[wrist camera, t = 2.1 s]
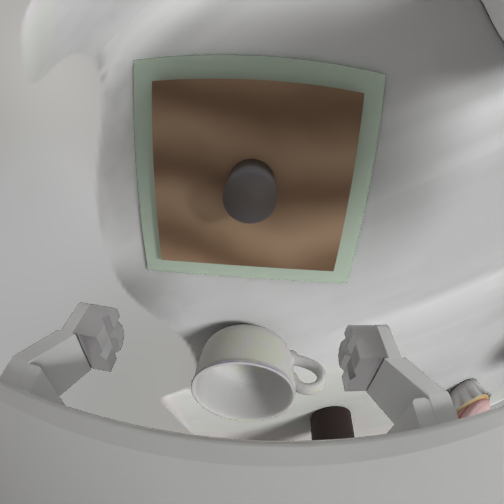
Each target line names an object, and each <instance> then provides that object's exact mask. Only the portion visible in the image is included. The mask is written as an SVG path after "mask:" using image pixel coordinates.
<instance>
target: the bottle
mask: <svg viewBox="0 0 504 504" xmlns="http://www.w3.org/2000/svg"><path fill="white" fill-rule="evenodd" d="M310 421H311V434H312V440H329V439H344V438H354V431H353V425H352V419H351V413H350V411H349V410H348V409H346V408H344V407H328V408H324V409H321V410H319V411H317V412H315V413H314V414H313V415H312V417H311V419H310Z"/></svg>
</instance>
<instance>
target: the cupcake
mask: <svg viewBox="0 0 504 504" xmlns="http://www.w3.org/2000/svg"><path fill="white" fill-rule="evenodd" d="M449 395H450V397H451V400H452V402H453V405H454V407H455V410H456V412H457V415H458V418H459V419H461V418H465V417H469V416H472V415H476V414H479V413H482V412H485V411H489V409H490V402H489V400H490V397H491V395H492V394H491V393H489V392H488V391H486V390H485V389H484V388H483V387H482V386H481V385H480V383H479V382H478V381H477V380H476V379H469V380H466V381H464V382H462V383H460V384H459V385H457V386H456V387H455V388H454V389H453V390H452V391H451V392H450V394H449Z"/></svg>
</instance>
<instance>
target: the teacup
mask: <svg viewBox="0 0 504 504" xmlns="http://www.w3.org/2000/svg"><path fill="white" fill-rule="evenodd" d="M294 365H295V366H300V367H303V368H306V369H308V370H310V371H312V372H313V373H315V374H316V376H317V380H316V381H315V382H313V383H309V384H308V383H303V382H302V381H300V380H299V378H298V376H297V374H296V373H295V372H294V371H293V366H294ZM325 383H326V373H325V370H324V368H323V367H322V366H321V365H320V364H319V363H318V362H316V361H314V360H312V359H310V358H307V357H304V356H301V355H298V354H297V353H296V352H295V351H293V350H289V348H288V346H287V345H286V343H285V342H284V340H283V339H282V338H281V337H280V336H278V335H277V334H276V333H274V332H272V331H270V330H268V329H266V328H264V327H260V326H256V325H248V324H241V325H233V326H229V327H226V328H223V329H221V330H219V331H218V332H216V333H215V334H213V335H212V336H211V337H210V338H209V339H208V341H207V342H206V344H205V345H204V347H203V349H202V352H201V355H200V358H199V361H198V365H197V369H196V373H195V376H194V378H193V380H192V384H191V390H192V395H193V396H194V398H195V400H196V401H197V402H198V403H199V404H200V405H201V406H202V407H203V408H205V409H206V410H208V411H209V412H211V413H213V414H215V415H218V416H220V417H223V418H227V419H230V420H236V421H262V420H267V419H271V418H274V417H276V416H279V415H281V414H282V413H284V412H285V411H287V410H288V409H289V408H290V407H291V405H292V403H293V402H294V399H295V392H298V393H300V394H304V395H312V394H316V393H318V392H319V391H320V390H321V389H322V388H323V387H324V385H325Z"/></svg>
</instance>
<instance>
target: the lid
mask: <svg viewBox="0 0 504 504" xmlns="http://www.w3.org/2000/svg"><path fill="white" fill-rule="evenodd" d="M363 102H364V93H361V92H356V91H350V90H345V89H339V88H332V87H325V86H318V85H311V84H302V83H293V82H282V81H270V80H253V79H175V80H159V81H152V140H153V164H154V182H155V196H156V209H157V220H158V231H159V241H160V250H161V258H162V260H169V261H183V262H196V263H210V264H224V265H239V266H254V267H269V268H285V269H301V270H318V271H334V268H335V263H336V259H337V255H338V250H339V246H340V241H341V236H342V231H343V227H344V222H345V217H346V212H347V206H348V201H349V196H350V190H351V184H352V179H353V173H354V167H355V160H356V154H357V147H358V141H359V133H360V126H361V118H362V110H363Z"/></svg>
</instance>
